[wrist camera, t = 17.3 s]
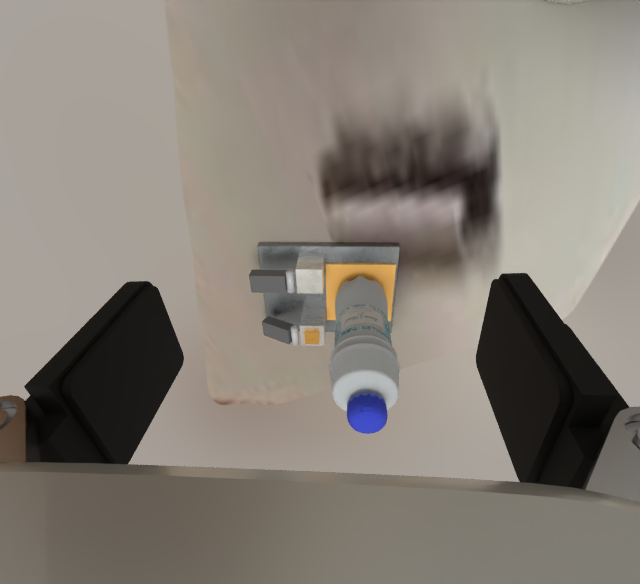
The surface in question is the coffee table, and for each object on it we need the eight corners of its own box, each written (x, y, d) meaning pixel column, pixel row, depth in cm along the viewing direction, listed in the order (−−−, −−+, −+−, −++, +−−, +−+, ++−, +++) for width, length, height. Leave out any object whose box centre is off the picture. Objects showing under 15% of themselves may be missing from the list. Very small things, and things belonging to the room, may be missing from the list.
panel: (398, 243, 44) (404, 265, 39) (390, 328, 51) (394, 355, 46) (258, 242, 45) (248, 264, 40) (269, 326, 52) (262, 352, 48)
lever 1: (294, 268, 42) (292, 274, 41) (295, 287, 43) (294, 294, 42) (251, 268, 42) (248, 274, 41) (254, 287, 44) (251, 293, 42)
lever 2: (300, 325, 46) (294, 331, 45) (301, 341, 47) (295, 347, 46) (268, 314, 48) (261, 320, 47) (270, 330, 49) (264, 336, 48)
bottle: (388, 269, 44) (411, 399, 28) (386, 314, 48) (405, 452, 31) (333, 270, 45) (323, 398, 28) (334, 314, 49) (327, 450, 32)
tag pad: (395, 263, 44) (396, 264, 44) (390, 319, 49) (390, 321, 49) (325, 263, 45) (325, 264, 45) (326, 318, 49) (326, 320, 49)
